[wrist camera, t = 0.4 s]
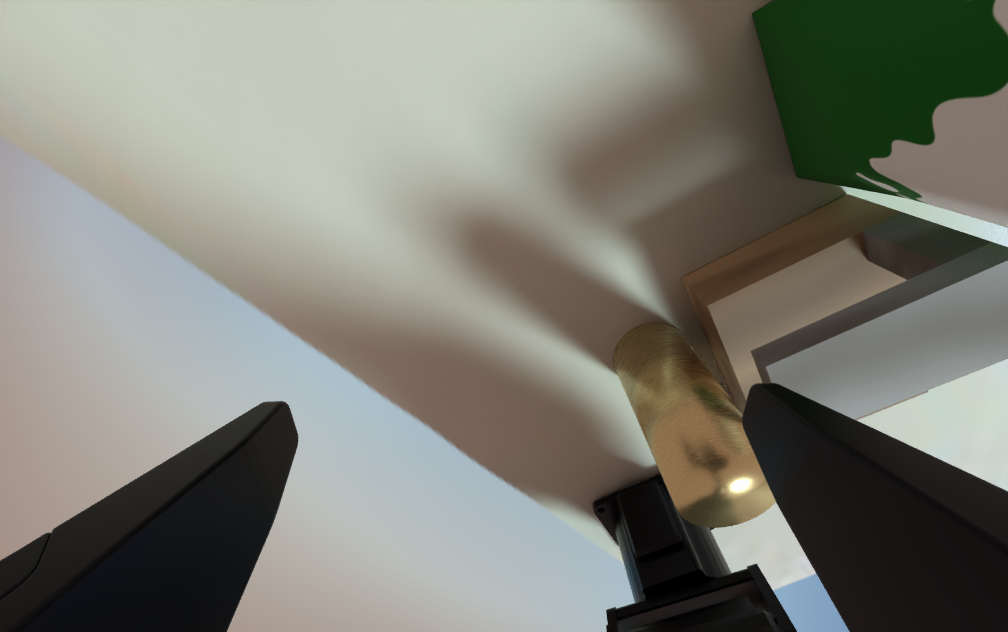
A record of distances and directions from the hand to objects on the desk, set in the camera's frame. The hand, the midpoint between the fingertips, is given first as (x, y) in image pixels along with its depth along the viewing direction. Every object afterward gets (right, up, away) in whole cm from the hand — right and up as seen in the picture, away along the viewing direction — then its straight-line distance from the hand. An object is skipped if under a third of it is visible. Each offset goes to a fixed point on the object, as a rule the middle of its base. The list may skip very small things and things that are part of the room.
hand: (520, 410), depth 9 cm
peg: (+8, 0, +15) cm, 17 cm away
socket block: (+15, +2, +15) cm, 21 cm away
